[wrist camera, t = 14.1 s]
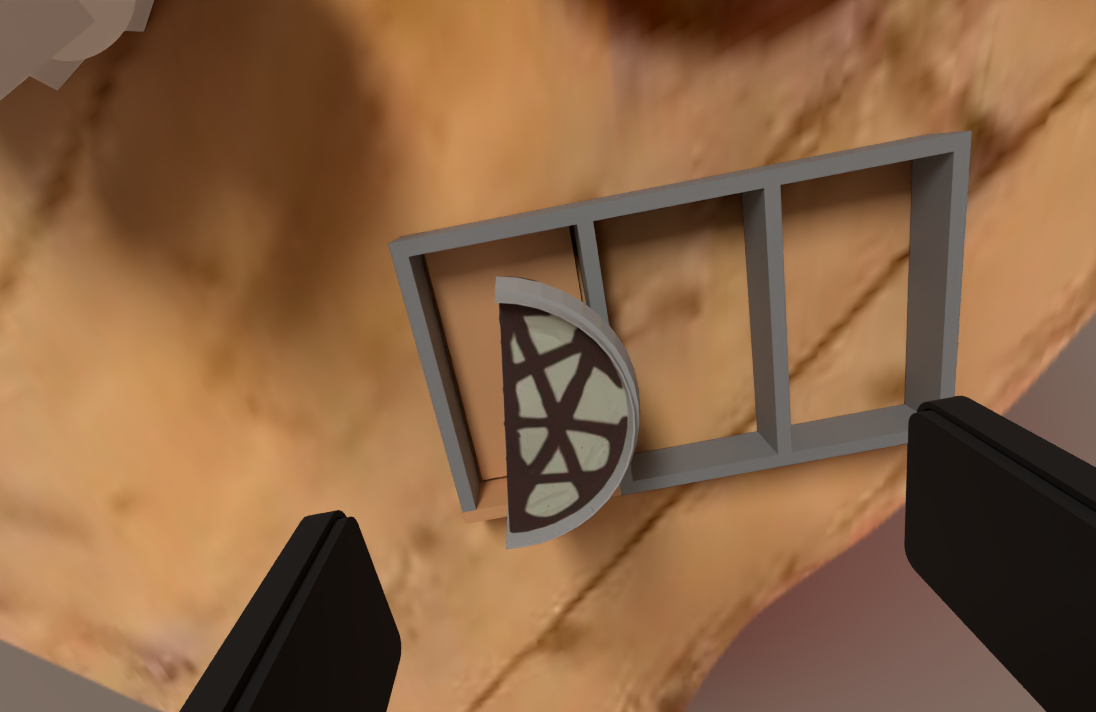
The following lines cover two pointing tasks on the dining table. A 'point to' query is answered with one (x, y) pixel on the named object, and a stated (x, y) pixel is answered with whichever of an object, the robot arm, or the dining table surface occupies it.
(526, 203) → the dining table surface
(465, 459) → the rack
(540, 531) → the food container
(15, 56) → the spiral staircase
